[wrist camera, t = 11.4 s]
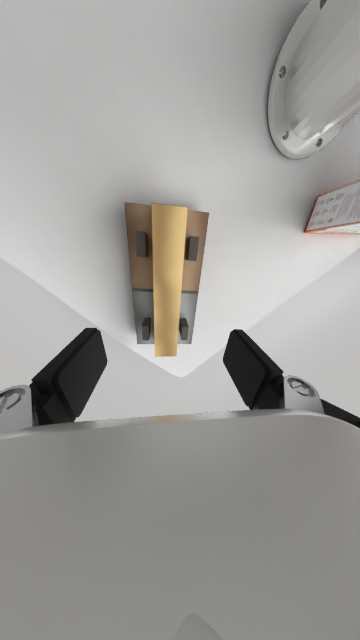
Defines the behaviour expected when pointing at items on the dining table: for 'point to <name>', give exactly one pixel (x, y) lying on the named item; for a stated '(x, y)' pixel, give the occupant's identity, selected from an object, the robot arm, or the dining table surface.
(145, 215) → the door and jamb
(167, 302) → the bar
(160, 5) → the dining table surface
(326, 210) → the cracker box
